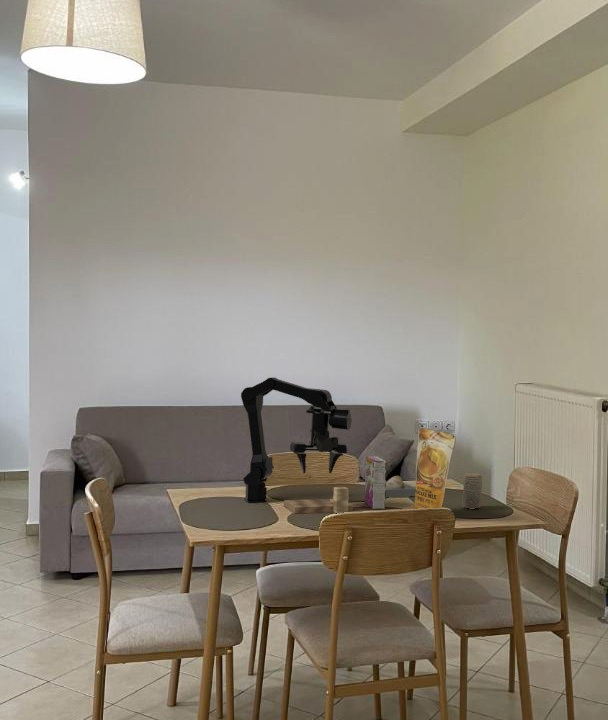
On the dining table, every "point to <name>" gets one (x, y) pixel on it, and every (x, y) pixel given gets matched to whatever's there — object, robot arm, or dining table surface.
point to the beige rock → (395, 483)
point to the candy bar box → (375, 482)
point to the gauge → (340, 499)
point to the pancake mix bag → (432, 466)
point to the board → (310, 506)
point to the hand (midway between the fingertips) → (317, 473)
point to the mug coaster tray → (401, 491)
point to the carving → (472, 490)
